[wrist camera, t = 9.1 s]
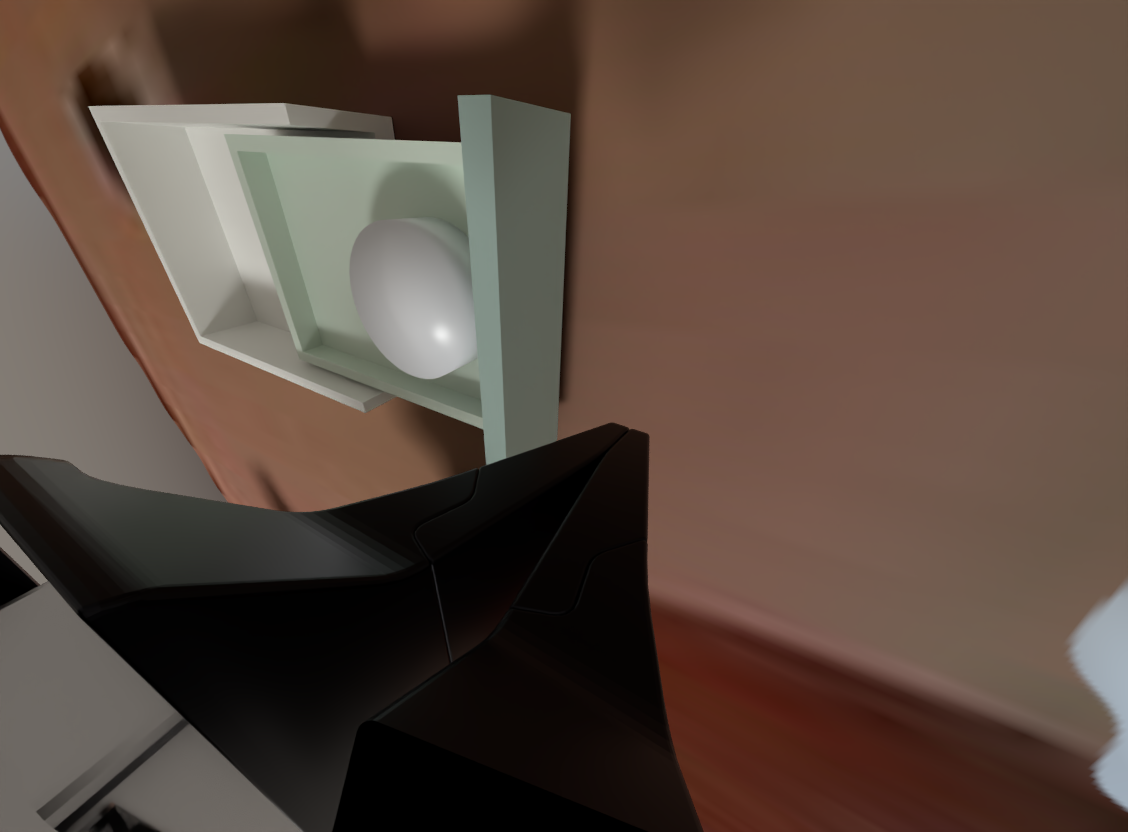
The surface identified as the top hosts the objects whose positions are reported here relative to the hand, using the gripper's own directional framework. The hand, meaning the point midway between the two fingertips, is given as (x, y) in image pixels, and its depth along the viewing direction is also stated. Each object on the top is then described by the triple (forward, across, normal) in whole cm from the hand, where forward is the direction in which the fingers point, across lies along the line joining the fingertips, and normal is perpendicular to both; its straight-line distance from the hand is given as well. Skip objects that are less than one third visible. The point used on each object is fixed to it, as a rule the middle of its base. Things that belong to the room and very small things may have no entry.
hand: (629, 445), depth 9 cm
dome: (+6, +11, 0) cm, 12 cm away
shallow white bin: (+8, +23, 0) cm, 24 cm away
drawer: (+7, +13, 0) cm, 15 cm away
